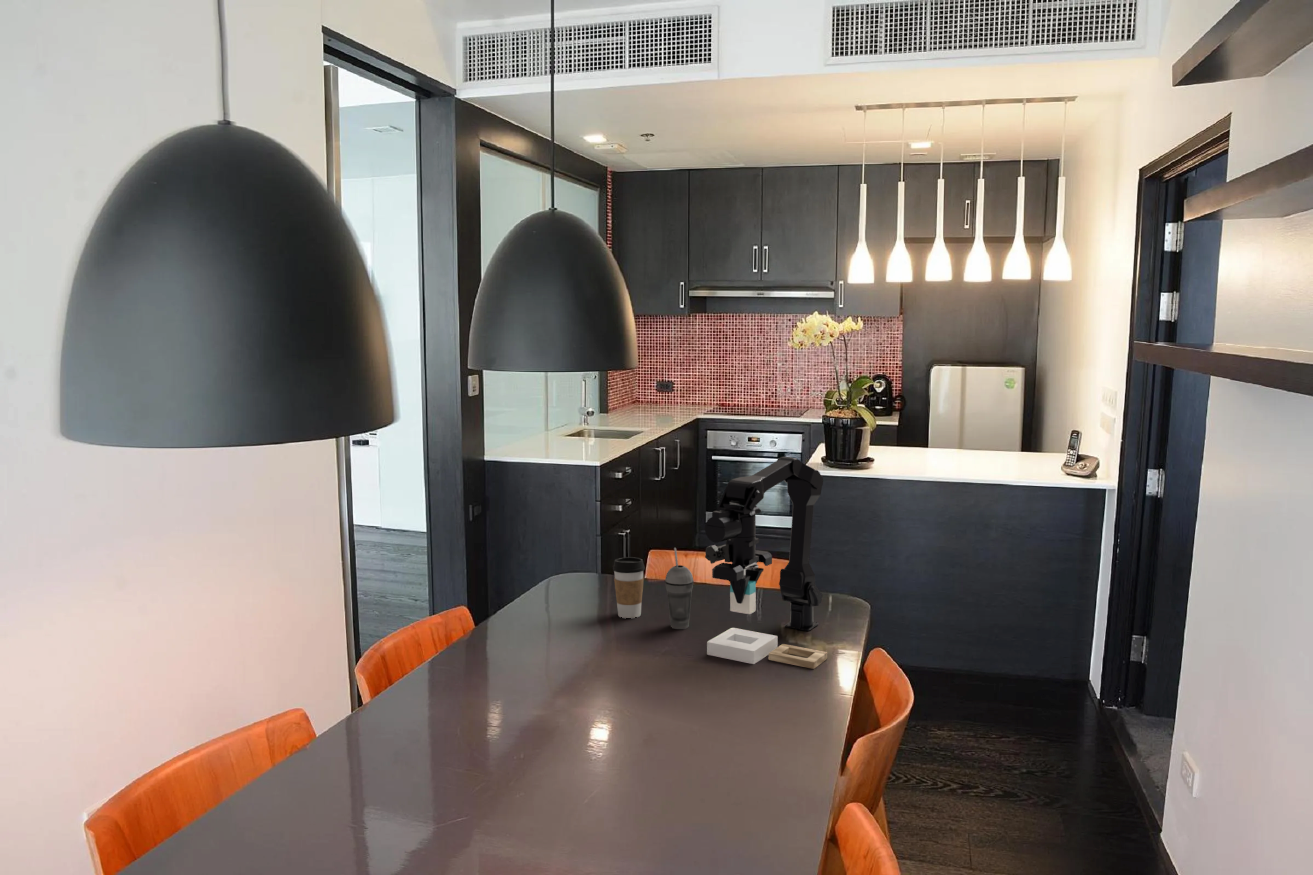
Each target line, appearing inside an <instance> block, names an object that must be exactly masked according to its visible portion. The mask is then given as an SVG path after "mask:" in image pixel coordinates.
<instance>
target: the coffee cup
mask: <svg viewBox="0 0 1313 875" xmlns="http://www.w3.org/2000/svg"><path fill="white" fill-rule="evenodd" d="M645 570H646V568H645V564H644V560H643V559H642V558H640V557H633V556H626V557H619V558H615V559H614V562H613V566H612V571H613V572H614V578H613V581H614V590H615V598H616V606H617V615H618V617H619V618H621V617H622V618H621V619H626V618H631V619H636V618H635V617H637V618H639V617H640V616H642V615H641V614H642V602H643V601H642V600H643V593H644V592H643V590H644V581H645V580H644V579H645V578H644V571H645Z"/></svg>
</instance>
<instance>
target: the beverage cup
mask: <svg viewBox="0 0 1313 875" xmlns="http://www.w3.org/2000/svg"><path fill="white" fill-rule="evenodd" d="M673 551H674V558H675V565H674V566H672V567H671V568H669V570H668V571H667V572H666V574H665V579H664V583H665V590H666V593H667V603H668V604H667V606H668V614H669V615H668V616H669V622H670V628H671V627H672V629H675V630H685V629H688V628H689V624H690V618H691V605H692V604H691V603H692V593H693V592H692V591H693V587H694V583H695V580H694V577H693V576H694V575H693V573H692V571H691V570H690V569H689V568H688V567H687V566H685V565H681V564H679V563H678V562H679V561H678V552H677V548H676V547H674V548H673Z"/></svg>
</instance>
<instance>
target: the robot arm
mask: <svg viewBox="0 0 1313 875" xmlns="http://www.w3.org/2000/svg"><path fill="white" fill-rule="evenodd" d="M782 482H785V484H786V485H787V487H786V489H787V494H788V497H789V499H790V501H791V502H792V514H791V515H792V518H791V527H790V528H791V530H790V544H789V560H788V562H787V564H786V565H785V567H784V568H781V569H780V571H779V582H778V586H779V591H780V593H781V597H782V598H781V599H782V601H784V602H789V603H790V606H789V608H790V609H789V611H790V612H789V616H790V617H789V618H790V619H789V620H790V621H788V622H787V623H786V624H784V627H785V628H790V629H795V630H800V631H804V632H805V631H806V632H808V631H810V630H812V629H814V628H815V627H817V626H819V622H818V621H814V607H819V605H820V604H822V599H823V594H822V592H821V591H820V589H819V588H818V587H817V585H816V574H815V573H814V572H815V571H814V570H813V568H812V566H811V564H810V558H811V542H812V529H813V515H814V506H815V504H816V502H817V501H818V500H819V498H820V497H821V495H822V489H823V485H824V477H823V475H822V474H821V472H820V471H819V470H817V469H814V468H813V467H811V466H809V465H807V464H805V463H803V462H802V461H801V460H800V459H797V457H791V456H790V457H789V456H781V457H779V458H778V459H777V460H776V461H774V462H773V463H771V464H769V465H768V466H766V467H765V468H762V469H760V470H759V471H757V472H756V473H754V474H752V475H748V476H740V477H736V478H732V479H730V480H729V481H728V483H727V484H726V486H725V489H724V492H723V493H722V496H721V498H720V501H719V503H718V506H717V508H716V510H714V511H712V513H711V515H712V516H711V517H710V518H708V519H707V521H706V523H705V525H704V531H705V532H704V533H705V535H706V538H708V540H709V541H711V542H712V543H716V544H717V543H722V542H725V544H722V545H718V546H716V544H714V545H709V546H707V547H705V555H704V558H705V559H706V560H707V561H709V562H710V564H711V565H712V564H715V563H716V562H720V561H724V562H721V563H719V564H716V565H715V566H714V567H713V568H712V569H711V571H712V573H711V577H712V579H714V580H715V579H716V580H723V581H728V582H729V584H731V586H732V589H733V592H734V595H735V598H736V601H737V603H740V604H741V603H742V602H743V599H744V596H745V592H746V589H747V585H748V582H749V580H751V581H756V584H757V583H758V581H759V579H760V577H761V575H762V573H763V572H764V568H762V567H759V564H758V563H763V565H764V567H765V566H766V567H768V566H770V565H772V564H773V555H772V554H771V553H770V552H769V551H765V550H758V549H756V545H757V544H759V543H760V538H758V537H756V528H757V527H756V518H757V517H756V516H757V515H758V514H760V513H762V510H761V509H760V508H759V507H758V506H757V505H758V504H760V502H761V501H762V500H763V499H764V497H765V493H766V492H767V491H769V490H771V489H772V488H774V487H776V486H777V485H778V484H780V483H782Z"/></svg>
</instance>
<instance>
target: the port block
mask: <svg viewBox="0 0 1313 875" xmlns="http://www.w3.org/2000/svg"><path fill="white" fill-rule="evenodd" d="M778 639H779V638H778V635H773V634H769V633H763V632H757V631H752V630H748V629H744V628H743V629H741V628H737V627H730V628H729V629H727V630H726V631H723V632H722V633H720V634H718V635H717V636H715V637H713V638H711V639H709V640H708V641H707V642H706V655H708V656H712V657H718V658H722V659H728V660H731V661H737V662H742V663H745V664H750V665H755V664H756V663H758V662H760V661H761V660H763V659H764V658H765V657H767V656H769V653H770V652H771V651H773V650H774V649H776V648H777V647H778V643H779V642H778Z"/></svg>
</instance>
